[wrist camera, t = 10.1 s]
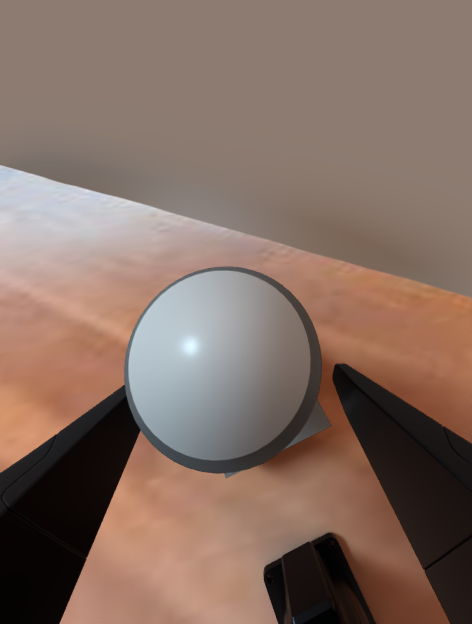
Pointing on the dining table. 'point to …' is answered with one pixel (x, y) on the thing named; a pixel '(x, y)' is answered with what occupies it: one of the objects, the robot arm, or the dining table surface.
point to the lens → (222, 369)
